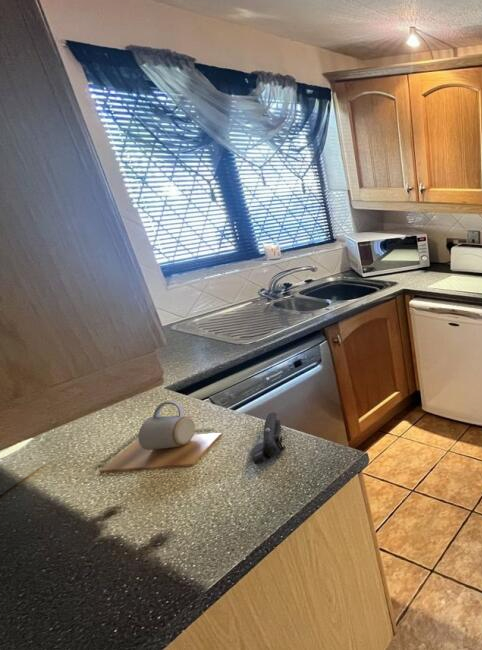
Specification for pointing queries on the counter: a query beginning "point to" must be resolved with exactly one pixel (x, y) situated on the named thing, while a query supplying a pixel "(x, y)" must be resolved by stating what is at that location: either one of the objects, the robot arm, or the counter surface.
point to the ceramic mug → (166, 429)
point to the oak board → (162, 455)
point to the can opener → (269, 440)
